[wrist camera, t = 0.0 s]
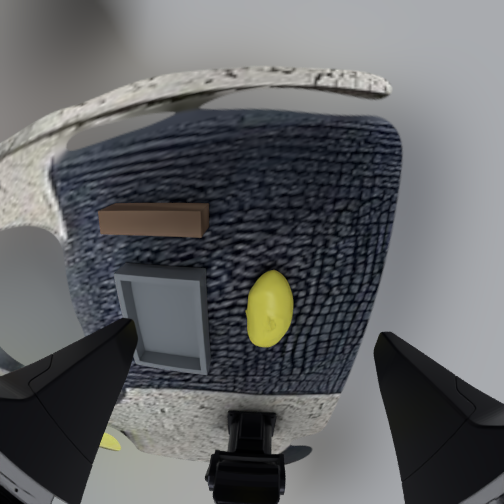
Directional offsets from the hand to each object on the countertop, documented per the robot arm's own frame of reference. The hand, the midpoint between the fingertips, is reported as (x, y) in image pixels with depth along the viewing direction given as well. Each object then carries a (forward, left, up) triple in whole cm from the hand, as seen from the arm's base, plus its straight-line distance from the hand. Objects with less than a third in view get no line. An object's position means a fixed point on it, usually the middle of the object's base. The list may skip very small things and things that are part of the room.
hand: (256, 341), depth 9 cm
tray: (-10, +9, -15) cm, 20 cm away
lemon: (-7, -1, -15) cm, 17 cm away
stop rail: (+1, +9, -15) cm, 17 cm away
